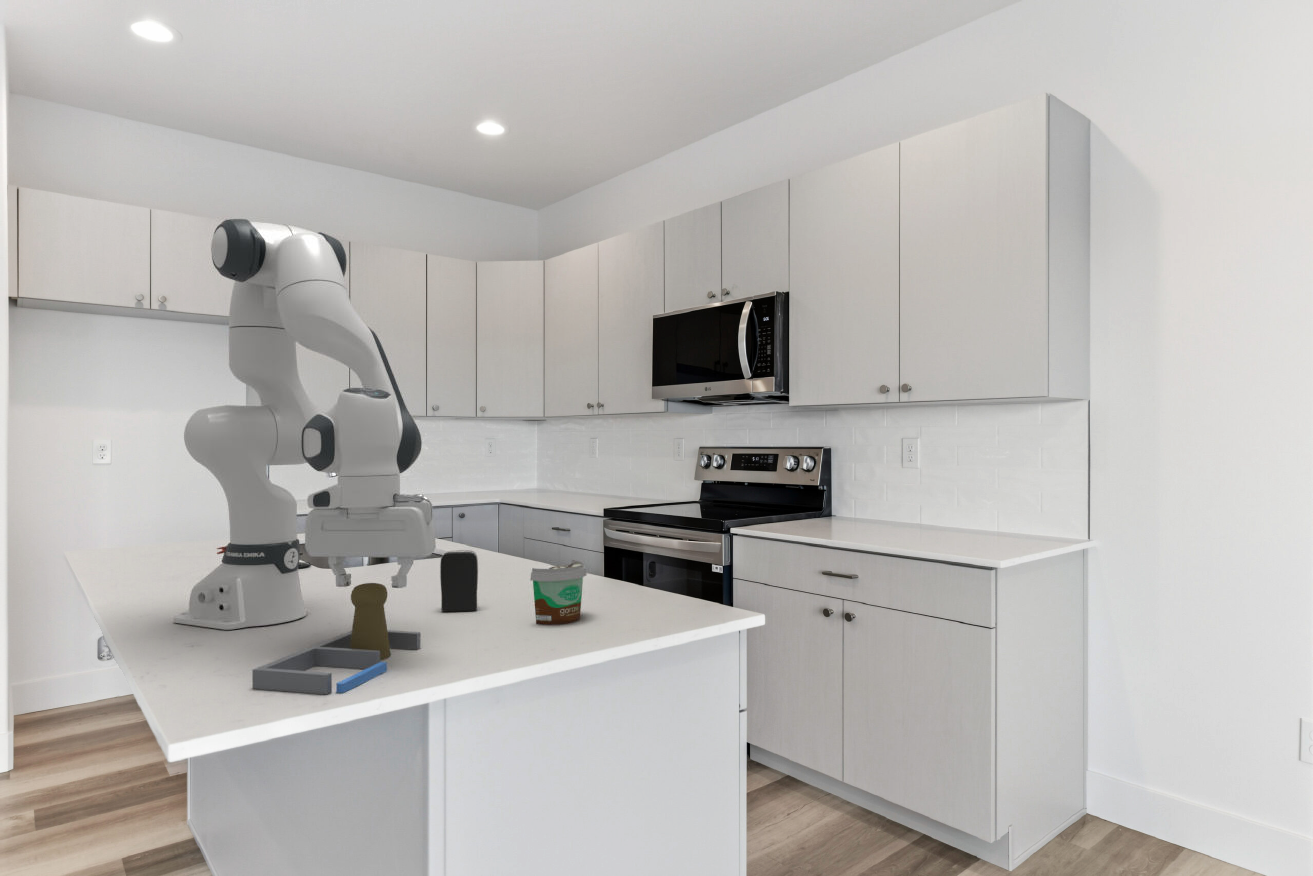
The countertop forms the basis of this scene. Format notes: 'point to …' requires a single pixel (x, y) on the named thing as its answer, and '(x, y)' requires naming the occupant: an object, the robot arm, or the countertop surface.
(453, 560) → the battery charger
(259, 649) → the countertop surface
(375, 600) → the cork
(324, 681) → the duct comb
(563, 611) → the food container
